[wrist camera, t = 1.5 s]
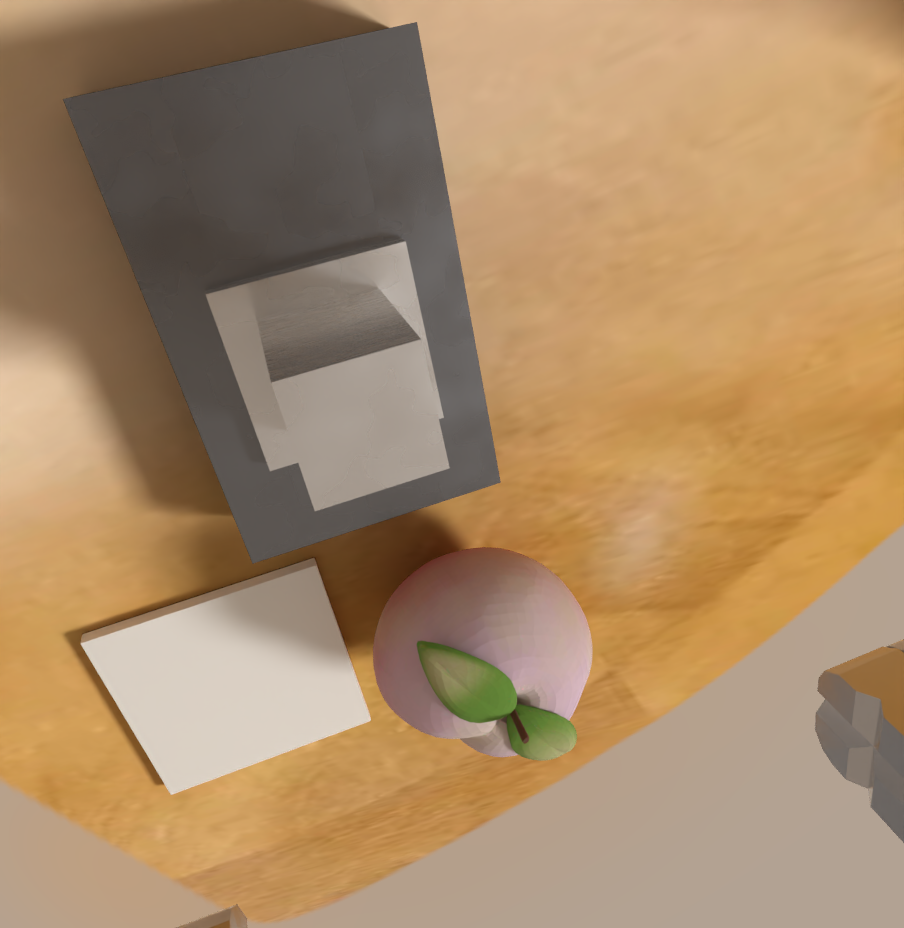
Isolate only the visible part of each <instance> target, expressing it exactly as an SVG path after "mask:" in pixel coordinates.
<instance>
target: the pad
mask: <svg viewBox="0 0 904 928" xmlns="http://www.w3.org/2000/svg"><path fill="white" fill-rule="evenodd" d="M80 644H81V646H82V647H83V649H84V651H85V652H86V654H87V656H88V657H89V659H90V661H91V662H92V664H93V666H94V667H95V669H96V671H97V672H98V674H99V676H100V677H101V679H102V681H103V682H104V684H105V686H106V687H107V689H108V691H109V692H110V694H111V696H112V697H113V699H114V701H115V702H116V704H117V706H118V707H119V709H120V711H121V712H122V714H123V716H124V717H125V719H126V721H127V722H128V724H129V726H130V727H131V729H132V731H133V732H134V734H135V736H136V737H137V739H138V741H139V742H140V744H141V746H142V747H143V749H144V751H145V752H146V754H147V756H148V757H149V759H150V761H151V762H152V764H153V766H154V767H155V769H156V771H157V772H158V774H159V776H160V777H161V779H162V781H163V782H164V784H165V786H166V787H167V789H168V791H169V792H170V794H171V795H172V794H175V793H177V792H180V791H183V790H185V789H188V788H191V787H194V786H196V785H199V784H202V783H204V782H207V781H210V780H212V779H215V778H218V777H220V776H223V775H226V774H229V773H231V772H234V771H237V770H239V769H242V768H245V767H247V766H250V765H253V764H256V763H258V762H261V761H264V760H266V759H269V758H272V757H274V756H277V755H280V754H282V753H285V752H288V751H291V750H293V749H296V748H299V747H301V746H304V745H307V744H309V743H312V742H315V741H317V740H320V739H323V738H326V737H328V736H331V735H334V734H336V733H339V732H342V731H344V730H347V729H350V728H353V727H355V726H358V725H361V724H363V723H366V722H369V721H371V718H370V714H369V711H368V708H367V705H366V702H365V699H364V697H363V694H362V691H361V688H360V685H359V683H358V680H357V677H356V674H355V671H354V668H353V666H352V663H351V660H350V657H349V654H348V651H347V649H346V646H345V643H344V640H343V637H342V634H341V632H340V629H339V626H338V623H337V620H336V617H335V615H334V612H333V609H332V606H331V603H330V601H329V598H328V595H327V592H326V589H325V586H324V584H323V581H322V578H321V575H320V572H319V569H318V567H317V564H316V561H315V558H312V559H309V560H306V561H303V562H300V563H297V564H293V565H290V566H287V567H284V568H281V569H278V570H275V571H272V572H269V573H266V574H263V575H260V576H257V577H254V578H251V579H248V580H245V581H242V582H239V583H236V584H233V585H230V586H227V587H224V588H221V589H218V590H215V591H212V592H209V593H206V594H203V595H200V596H197V597H194V598H191V599H188V600H185V601H182V602H179V603H175V604H172V605H169V606H166V607H163V608H160V609H157V610H154V611H151V612H148V613H145V614H142V615H139V616H136V617H133V618H130V619H127V620H124V621H121V622H118V623H115V624H112V625H109V626H106V627H103V628H100V629H97V630H94V631H91V632H88V633H85V634H82V638H81V643H80Z"/></svg>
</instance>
